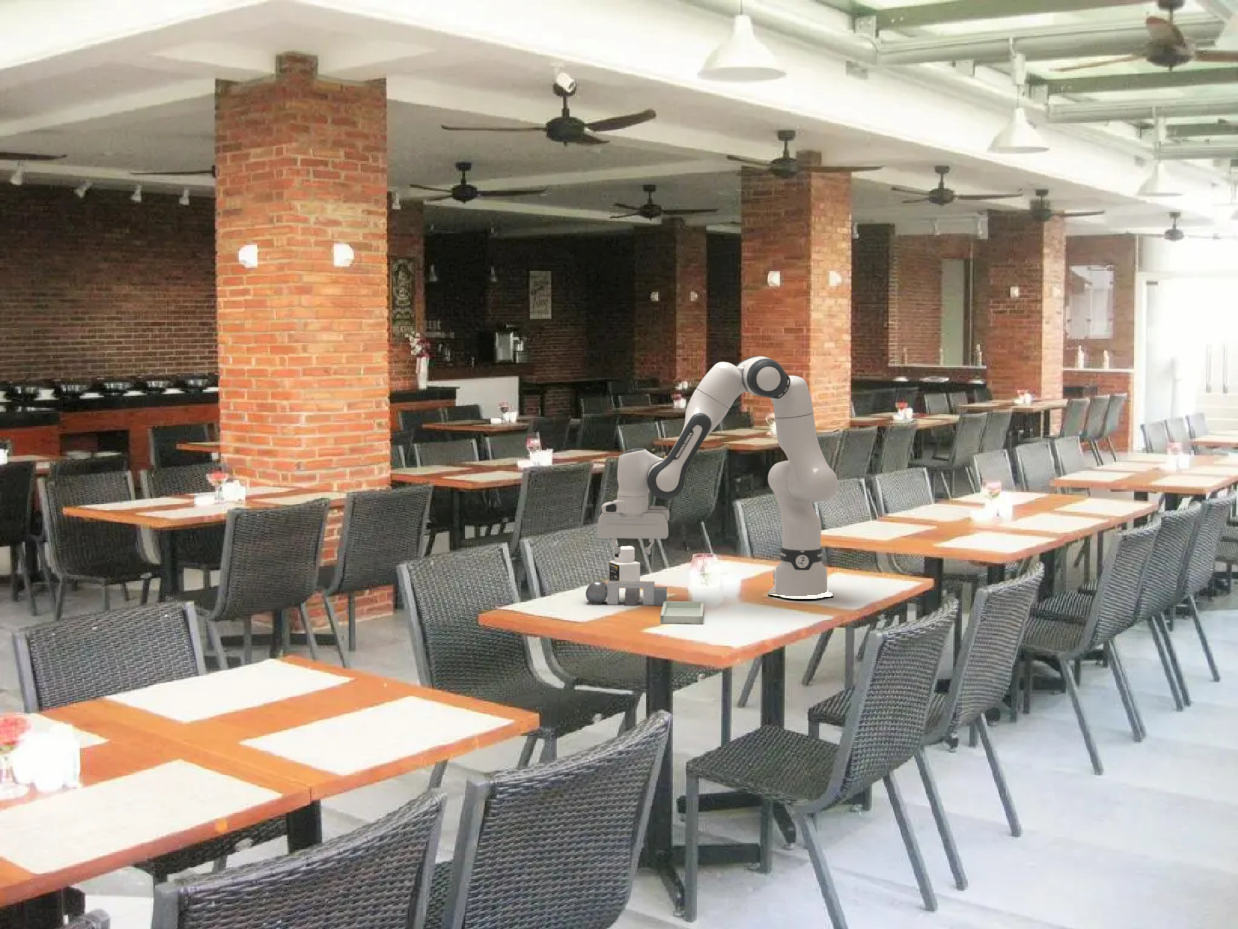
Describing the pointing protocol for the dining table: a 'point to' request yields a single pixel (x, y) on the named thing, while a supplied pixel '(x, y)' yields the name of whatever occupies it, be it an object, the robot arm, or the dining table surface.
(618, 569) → the medicine bottle
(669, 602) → the tray
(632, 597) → the dark grey rectangular bar
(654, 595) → the housing
